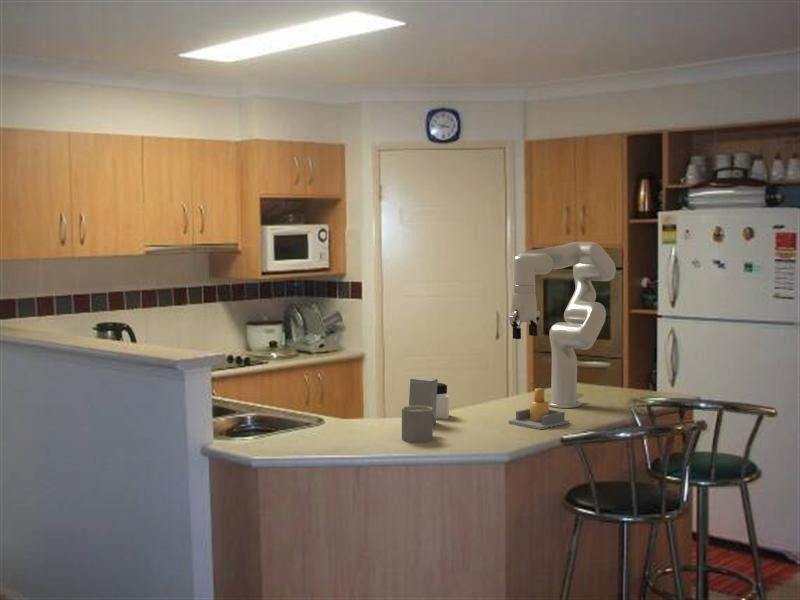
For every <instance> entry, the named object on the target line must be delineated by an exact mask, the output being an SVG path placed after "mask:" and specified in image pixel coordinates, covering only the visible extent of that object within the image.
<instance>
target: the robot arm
mask: <svg viewBox="0 0 800 600" xmlns="http://www.w3.org/2000/svg"><path fill="white" fill-rule="evenodd" d="M568 267H572V272H573V278H574V285H575V287H574V288H575V290H574V292H573V294H572V296H571V298H570V300H569V301H568V304H567V305H566V308H565V310H564V313H563V319H564V321H562V322H561V321H560V322H556V323H554V324H553V325H552V326H551V327H550V329H549V331H548V332H549V334H548V335H549V336H548V338H549V343H550V348H551V384H550V386H551V390H550V391H551V393H550V395H551V396H550V399H549V400H547V401H548V402H549V407H553V408H561V409H574V408H578V407H580V406H581V404H582V403H581V402H580V401H579V400H578V399H581V398H583V397H584V394H583V393H582V392H577V391H578V390H577V389H578V387H577V386H578V385H577V384H578V383H577V382H578V381H577V380H578V358H577V354H576V352H575V350H589V349H591V348H592V347H593V346H594V344H595V342H596V341H597V338H598V336H599V334H600V332H601V330H602V329H603V326H604V324H605V322H606V318H607V313H606V307H605V306H604V305H603V304H602V303H601V302H597V301H596V298H597V293H596V290H595V287H594V285H593V284H592V281H593V282H599V281H600V282H610V281H611V280H613V279H614V277H616V276H615V275H616V272H617V269H616V265H615V262H614V261H613V259H612V258H611V256H610V255H609V254H608V252H606V250H605V249H604V248H603V247H602V246H601V245H600V244H599V243H597V242H594V241H573V242H569V243H564V244H561V245H556V246H551V247H550V246H549V247H545V248H538V249H532V250H530V249H529V250H526V251H523V252H520V253H519V254H518V255H516V256H514V258H513V294H512V300H511V308H510V310H511V311H510V312H511V313H510V315H509V316H508V319H509V321H510V322H509V324H510V325H511V328H512V339H513V340H521V339H522V327H521V325H522V323H525V322H526V323H527V322H529V324H528V335H529V336H531V337H537V336H538V324H539V320H540V315H541V311H539V310H538V307H537V306H538V305H537V303H538V301H537V296H536V275H547V274H549V273H550V272H551V271H552V270H561V269H566V268H568Z"/></svg>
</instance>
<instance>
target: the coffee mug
mask: <svg viewBox="0 0 800 600" xmlns="http://www.w3.org/2000/svg"><path fill="white" fill-rule="evenodd" d="M435 424H436V422H435V415H434V412H433V408H432V407H428V406H418V405H416V406H409V405H406V406H403V407H401V440H402V441H404V442H408V443H426V442H431V441H432V440H433V437H434V436H433V435H434V434H433V427H434V425H435Z"/></svg>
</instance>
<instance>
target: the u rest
mask: <svg viewBox="0 0 800 600" xmlns="http://www.w3.org/2000/svg"><path fill="white" fill-rule="evenodd" d="M509 423H510V424H509ZM569 423H570V419H565V411H561V410H554V409H551V408H550V409H549V415H544V416H542V422H532V421H530V408H525V409H520V410H517V411H516V410H515V418H514V419H511V420H508V424H509V425H513V424H516V425H515V426H518V425H521V426H520V427H524V426H527V427H526V428H529V427H532V428H531V429H534V428H537V429H536V430H539V429H542V430H545V428H546V429H549V428H548V427H551V428H554V427H553V426H555V427H558V426H557V425H559V426H563V425H566V424H569Z"/></svg>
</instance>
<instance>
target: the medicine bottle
mask: <svg viewBox="0 0 800 600" xmlns="http://www.w3.org/2000/svg"><path fill="white" fill-rule="evenodd" d="M449 415H450V396H449V395H448V385H447V384H446V383H444V382H438V383H437V402H436V419H439V420H440V419H443V420H447V419H448V418H449Z"/></svg>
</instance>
